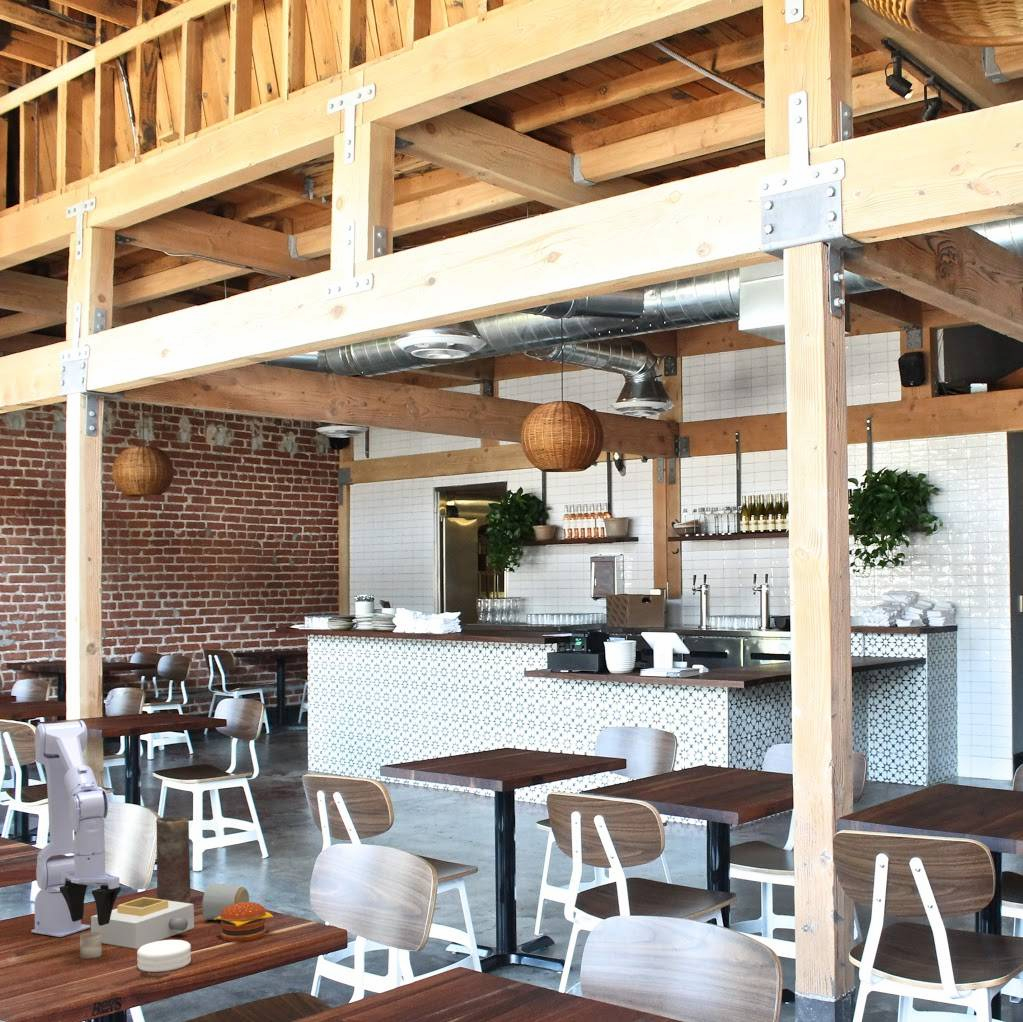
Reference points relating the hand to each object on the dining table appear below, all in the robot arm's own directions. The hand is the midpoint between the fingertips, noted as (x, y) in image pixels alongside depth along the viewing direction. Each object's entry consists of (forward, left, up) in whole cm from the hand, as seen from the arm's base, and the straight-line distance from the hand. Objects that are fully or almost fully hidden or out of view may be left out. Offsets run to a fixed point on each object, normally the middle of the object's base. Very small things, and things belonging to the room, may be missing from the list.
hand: (90, 922), depth 242 cm
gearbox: (0, +15, -6) cm, 16 cm away
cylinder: (0, 0, -7) cm, 7 cm away
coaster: (+18, +2, -7) cm, 19 cm away
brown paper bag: (-12, +34, -7) cm, 37 cm away
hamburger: (+19, +23, -7) cm, 31 cm away
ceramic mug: (+6, +32, -7) cm, 33 cm away
